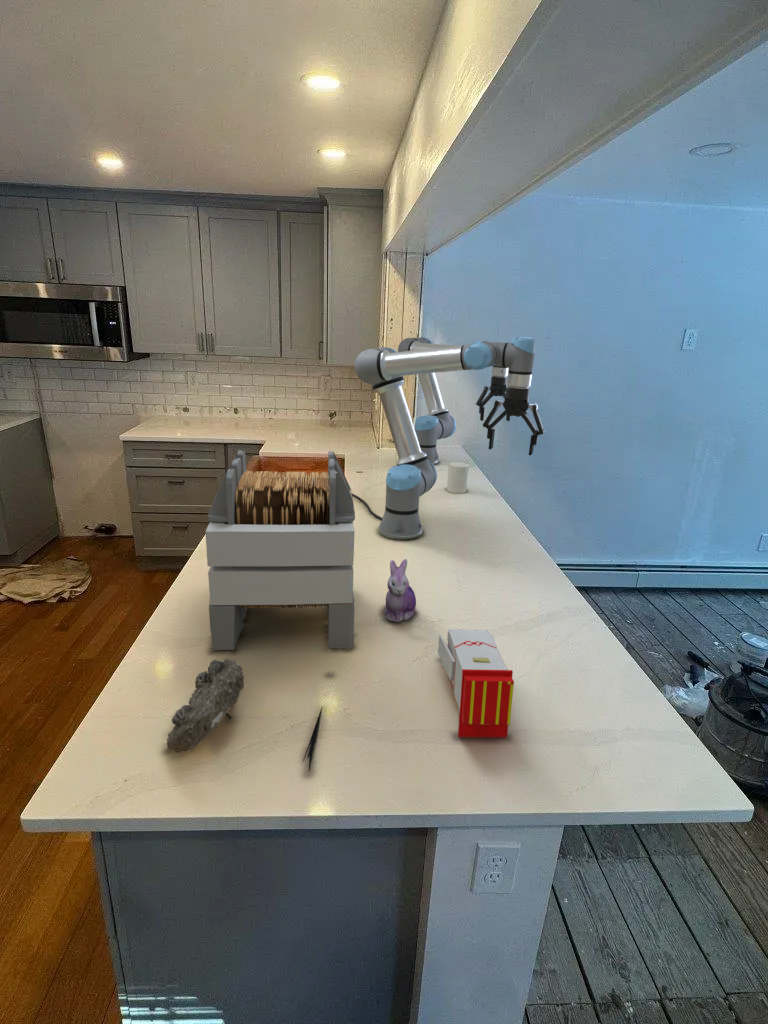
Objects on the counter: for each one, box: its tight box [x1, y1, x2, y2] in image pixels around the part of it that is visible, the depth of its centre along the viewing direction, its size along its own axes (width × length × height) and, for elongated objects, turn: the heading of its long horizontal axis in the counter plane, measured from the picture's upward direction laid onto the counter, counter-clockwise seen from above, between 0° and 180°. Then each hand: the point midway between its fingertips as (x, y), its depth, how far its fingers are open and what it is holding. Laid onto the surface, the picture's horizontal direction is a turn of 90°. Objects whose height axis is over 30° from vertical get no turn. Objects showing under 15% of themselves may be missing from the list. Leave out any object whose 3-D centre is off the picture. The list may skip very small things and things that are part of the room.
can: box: [446, 461, 469, 494], centre depth 249 cm, size 8×8×12 cm
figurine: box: [384, 558, 417, 623], centre depth 145 cm, size 9×10×15 cm
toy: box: [437, 628, 515, 738], centre depth 117 cm, size 12×13×30 cm
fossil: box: [166, 658, 245, 754], centre depth 106 cm, size 22×10×15 cm
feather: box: [301, 673, 332, 771], centre depth 108 cm, size 2×28×2 cm
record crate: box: [204, 449, 356, 652], centre depth 138 cm, size 34×33×41 cm
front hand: (510, 451), depth 190 cm, fingers open, 13 cm apart
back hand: (494, 420), depth 278 cm, fingers open, 13 cm apart
